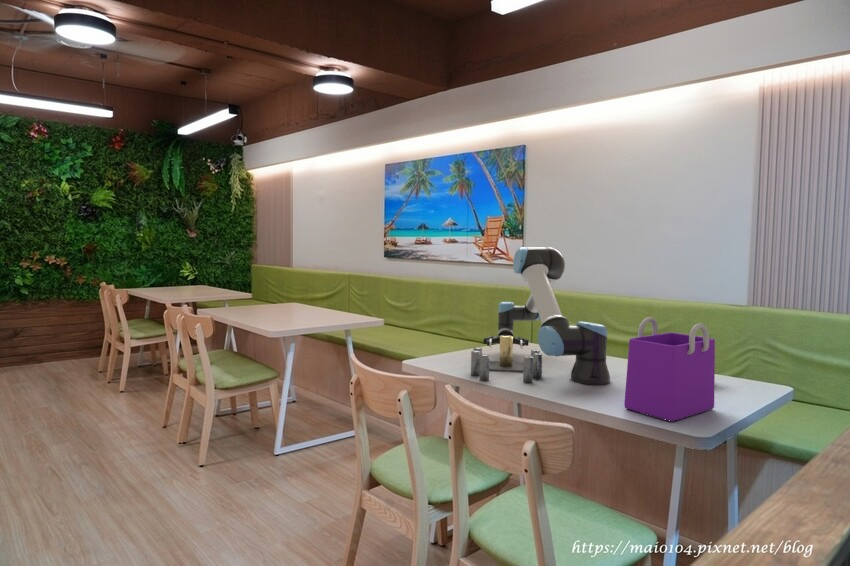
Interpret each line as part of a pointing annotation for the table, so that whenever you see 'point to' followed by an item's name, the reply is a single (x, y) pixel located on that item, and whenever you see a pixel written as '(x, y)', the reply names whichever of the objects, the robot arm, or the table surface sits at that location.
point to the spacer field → (530, 367)
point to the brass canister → (506, 350)
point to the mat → (515, 367)
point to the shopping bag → (670, 373)
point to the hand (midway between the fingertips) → (505, 345)
